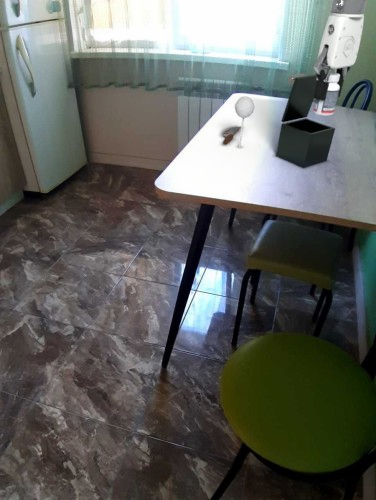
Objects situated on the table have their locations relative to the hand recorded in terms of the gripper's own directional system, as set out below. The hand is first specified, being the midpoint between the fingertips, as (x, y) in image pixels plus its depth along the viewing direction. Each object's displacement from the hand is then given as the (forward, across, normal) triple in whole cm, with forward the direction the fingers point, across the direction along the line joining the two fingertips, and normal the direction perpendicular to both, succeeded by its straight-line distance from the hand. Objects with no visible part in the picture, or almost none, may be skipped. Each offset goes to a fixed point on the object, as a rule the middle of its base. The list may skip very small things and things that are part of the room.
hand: (326, 96), depth 105 cm
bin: (+21, +11, +11) cm, 26 cm away
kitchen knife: (+21, +6, +40) cm, 46 cm away
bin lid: (+5, +11, +15) cm, 20 cm away
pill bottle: (+4, 0, 0) cm, 4 cm away
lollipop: (+21, +1, +30) cm, 36 cm away
